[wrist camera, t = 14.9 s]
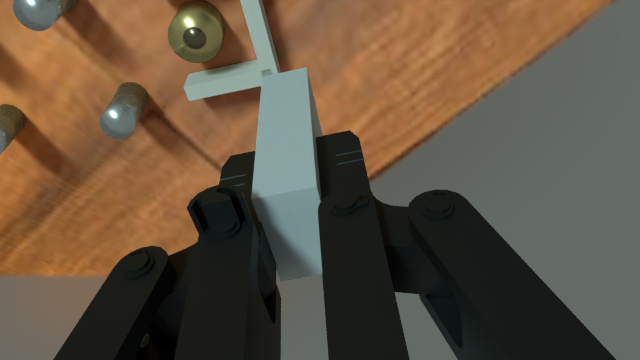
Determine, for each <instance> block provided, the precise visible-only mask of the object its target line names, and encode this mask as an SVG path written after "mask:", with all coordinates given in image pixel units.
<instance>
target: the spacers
mask: <svg viewBox="0 0 640 360" xmlns="http://www.w3.org/2000/svg"><path fill="white" fill-rule="evenodd" d="M76 2H77V0H14V3H13V10H14V13H15V15H16V17H17V19H18V20H19V21H20V22H21V23H22V24H23V25H24V26H26V27H27V28H29V29H32V30H36V31H43V30H46V29H48V28H49V27H50V26H51V25H53V24H54V23H55V22H56V21H57V20H58V19H59V18H60V17H61V16H63V15H64V14H65V13H66V12H67V11H68V10H69V9H70V8H71V7H73V6H74V5H75V4H76ZM147 102H148V94H147V92H146V90H145V89H144V88H143V87H142V86H141V85H139V84H137V83H133V82H127V83H124V84H122V85H121V86H120V87H119V88H118V90H117V92H116V93H115V95H114V97H113V98H112V100H111V102H110V103H109V105H108V106H107V108H106V110H105V111H104V113H103V115H102V116H101V118H100V126H101V129H102V130H103V132H104V133H105V134H107V135H108V136H110V137H112V138H115V139H125V138H128V137H129V136H130V135H131V134H132V133H133V131H134V129H135V127H136V125H137V123H138V121H139V118H140V116H141V114H142V112H143V110H144V108H145V106H146V104H147ZM25 124H26V118H25V116H24V114H23V113H22V112H21V111H20V110H19V109H18V108H16V107H14V106H12V105H7V104H3V105H0V155H1V153H2V152H3V151H4V150H5V149H6V147H7V146H8V145H9V144H10V143H11V141H12V140H13V139H14V138H15V137H16V136H17V134H18V133H19V132H20V131H21V130H22V128H23V127H24V126H25Z"/></svg>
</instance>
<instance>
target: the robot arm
mask: <svg viewBox="0 0 640 360" xmlns="http://www.w3.org/2000/svg"><path fill="white" fill-rule="evenodd" d="M220 180H221V181H220V182H219V185H217V186H213V187H210V188H207V189H205V190H204V191H202V192H200V193H198V194H197V195H196V196H195V197H194V198H193V199H192V200H191V201H190V203H189V205H188V207H187V209H188V211H189V214H190V216H191V218H192V220H193V222H194V224H195V227H196V229H197V231H198V233H199V238H198V242H197V243H195V244H194V245H192V246H190V247H188V248H186V249H184V250H181V251H179V252H177V253H174V254H172V255H170V256H168V254H167V252H166V251H165V250H163V249H162V248H161V247H155V246H149V247H143V248H140V249H137V250H135V251H133V252H131V253H129V254H128V255H126V256H125V257H123V258H122V259H121V260H120V261H119V262H118V263H117V265H116V266H115V267H114V268H113V270H112V271H111V273H110V274H109V276H108V277H107V279H106V280H105V282H104V283H103V285H102V286H101V288H100V290H99V291H98V293H97V294H96V296H95V297H94V299H93V300H92V302H91V303H90V305H89V306H88V308H87V309H86V311H85V312H84V314H83V315H82V317H81V319H80V320H79V322H78V323H77V325H76V326H75V328H74V329H73V331H72V332H71V334H70V335H69V337H68V338H67V340H66V341H65V343H64V344H63V346H62V347H61V349H60V351H59V352H58V353H57V355H56V357H55V358H54V360H280V353H281V352H280V351H281V350H280V349H281V347H280V346H281V345H280V344H281V297H280V293H279V290H278V287H277V284H276V270H277V272H278V275H279V278H280V281H286V280H292V279H297V278H302V277H308V276H314V275H319V274H322V276H323V289H324V302H325V315H326V328H327V342H328V355H329V360H409V355H408V351H407V346H406V342H405V337H404V333H403V328H402V324H401V320H400V315H399V311H398V306H397V302H396V297H395V293H394V292H403V293H414V294H419V296H420V299H421V301H422V303H423V304H424V306H425V307H426V309H427V311H428V312H429V314H430V315H431V317H432V319H433V320H434V322H435V323H436V325H437V326H438V328H439V330H440V331H441V333H442V335H443V336H444V338H445V339H446V341H447V343H448V344H449V346H450V348H451V349H452V351H453V352H454V354H455V355H456V357H457V359H458V360H616V359H615V358H614V357H613V356H612V355H611V354H610V353H609V352H608V350H607V349H606V348H605V347H604V346H603V345H602V344H601V343H600V342H599V341H598V340H597V339H596V338H595V337H594V335H592V333H591V332H590V331H589V330H588V329H587V328H586V327H585V326H584V325H583V324H582V323H581V322H580V320H579V319H577V317H576V316H575V315H574V314H573V313H572V312H571V311H570V310H569V309H568V308H567V307H566V305H565V304H564V303H563V302H562V301H561V300H560V299H559V298H558V297H557V296H556V295H555V294H554V293H553V292H552V291H551V290H550V288H549V287H548V286H547V285H546V284H545V283H544V282H543V281H542V280H541V279H540V278H539V277H538V275H536V274H535V272H534V271H533V270H532V269H531V268H530V267H529V266H528V265H527V264H526V263H525V262H524V261H523V259H521V257H520V256H519V255H518V254H517V253H516V252H515V251H514V250H513V249H512V248H511V247H510V245H509V244H507V242H506V241H505V240H504V239H503V238H502V237H501V236H500V235H499V234H498V233H497V232H496V231H495V229H494V228H493V227H492V226H491V225H490V224H489V223H488V222H487V221H486V220H485V219H484V218H483V217H482V216H481V214H480V213H479V212H478V211H477V210H476V209H475V208H474V207H473V206H472V205H471V204H470V203H469V202H468V201H467V199H466V198H464V197H463V196H461V195H460V194H458V193H456V192H452V191H449V190H432V191H428V192H424V193H422V194H420V195H418V196H416V197H415V198H414V199H413V200H412V201H411V202H410V203H409V206H408V207H400V206H391V205H388V204H385V203H382V202H380V201H379V200H377V199H376V198H375V197H374V196H373V194H372V192H371V189H370V185H369V180H368V176H367V172H366V167H365V163H364V158H363V154H362V150H361V145H360V141H359V138H358V137H357V136H356V135H354V134H353V133H352V132H351V131H350V130H349V131H344V132H340V133H335V134H330V135H325V136H323V135H322V131H321V126H320V122H319V118H318V114H317V109H316V105H315V101H314V96H313V92H312V88H311V83H310V79H309V75H308V71H307V67H306V68H301V69H296V70H292V71H287V72H282V73H278V74H273V75H268V76H264V77H262V85H261V96H260V107H259V118H258V129H257V140H256V151H252V152H247V153H242V154H237V155H233V156H230V158H229V159H228V160H227V162H226V163H225V164H224V166H223V167H222V171H221V177H220ZM145 335H146V336H145ZM144 337H145V338H144Z"/></svg>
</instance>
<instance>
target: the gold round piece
mask: <svg viewBox="0 0 640 360" xmlns="http://www.w3.org/2000/svg"><path fill="white" fill-rule="evenodd" d="M224 31H225V22H224V19H223V16H222V14H221V13H220V11H219V10H218V9H217V8H216V7H215V6H214V5H212V4H211V3H209V2H206V1H203V0H192V1H188V2H186V3H185V4H183V5H182V6H181V7H180V8H179V10H178V11H177V13H176V15H175V17H174V19H173V20H172V22H171V24H170V26H169V30H168V39H169V43H170V45H171V47H172V49H173V50H174V52H175V53H176V54H177V55H178V56H180V57H181V58H182V59H184V60H186V61H189V62H193V63H202V62H206V61H209V60H210V59H212V58H213V57H214V56H215V55H216V54H217V53H218V51H219V49H220V46H221V42H222V39H223V35H224Z"/></svg>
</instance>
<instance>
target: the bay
mask: <svg viewBox="0 0 640 360" xmlns="http://www.w3.org/2000/svg"><path fill="white" fill-rule="evenodd" d="M240 1H241V5H242V8H243V12H244V15H245V18H246V22H247V25H248V29H249V32H250V36H251V39H252V42H253V46H254V49H255V53H256V56H257V59H256V60H251V61H247V62H242V63H238V64H233V65H228V66H224V67H219V68H214V69H210V70H205V71H201V72H196V73H191V74H188V77H187V80H186V82H185V85H184V89H185V92H186V94H187V97H188V99H189V101H192V100H197V99H202V98H206V97H211V96H216V95H221V94H225V93H230V92H235V91H239V90H244V89H249V88H254V87H258V86H261V85H262V77H264V76H268V75H273V74H278V73H280V65H279V62H278V58H277V54H276V50H275V46H274V43H273V39H272V35H271V31H270V28H269V24H268V20H267V16H266V13H265V9H264V5H263V1H262V0H240Z"/></svg>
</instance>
